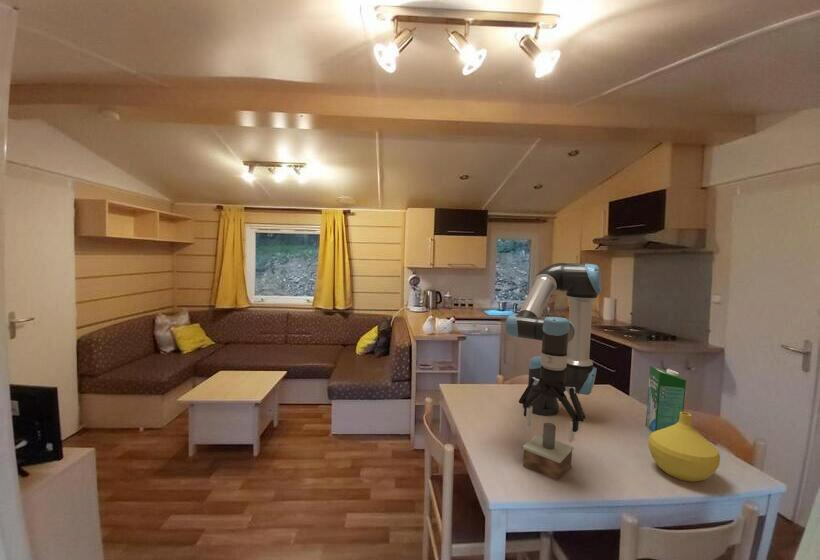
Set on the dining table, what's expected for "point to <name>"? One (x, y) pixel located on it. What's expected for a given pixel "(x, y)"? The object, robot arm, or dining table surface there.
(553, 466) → the walnut box
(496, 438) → the dining table surface
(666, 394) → the milk carton
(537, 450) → the lid
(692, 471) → the vase
